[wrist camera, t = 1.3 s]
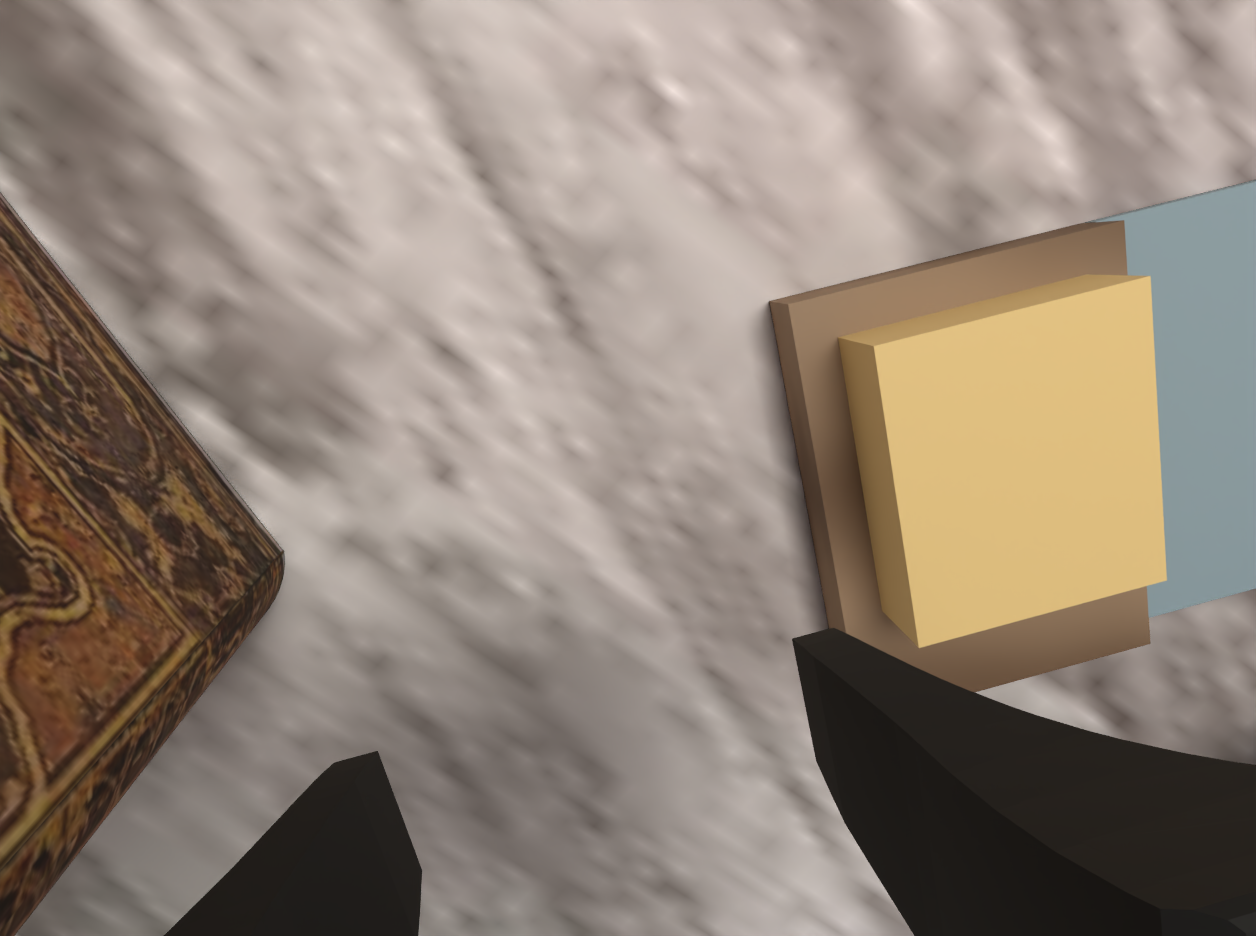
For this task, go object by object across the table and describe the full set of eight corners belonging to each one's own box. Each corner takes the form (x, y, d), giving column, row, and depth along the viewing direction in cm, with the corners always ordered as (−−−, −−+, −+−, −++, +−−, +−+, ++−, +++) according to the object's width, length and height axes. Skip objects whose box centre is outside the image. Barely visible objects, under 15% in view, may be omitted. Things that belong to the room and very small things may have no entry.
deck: (1111, 619, 23) (1150, 643, 21) (841, 693, 22) (862, 723, 21) (1080, 223, 20) (1124, 220, 18) (769, 301, 19) (788, 304, 18)
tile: (1107, 550, 20) (1167, 580, 18) (882, 611, 20) (918, 648, 18) (1086, 274, 18) (1150, 275, 16) (837, 337, 18) (873, 346, 16)
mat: (1388, 543, 23) (1403, 547, 23) (1114, 618, 23) (1124, 624, 22) (1399, 143, 20) (1416, 141, 20) (1085, 222, 20) (1095, 221, 19)
